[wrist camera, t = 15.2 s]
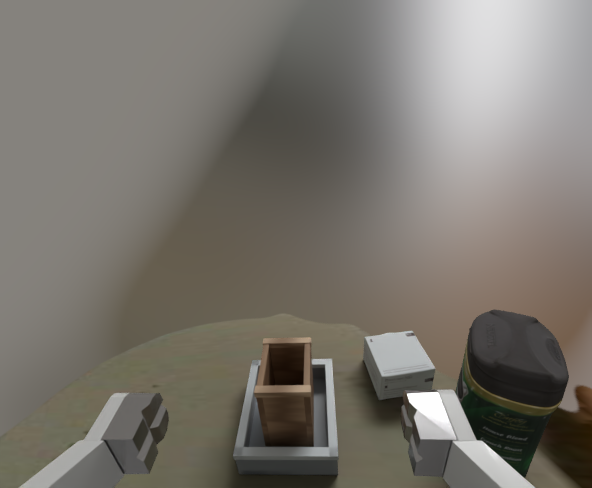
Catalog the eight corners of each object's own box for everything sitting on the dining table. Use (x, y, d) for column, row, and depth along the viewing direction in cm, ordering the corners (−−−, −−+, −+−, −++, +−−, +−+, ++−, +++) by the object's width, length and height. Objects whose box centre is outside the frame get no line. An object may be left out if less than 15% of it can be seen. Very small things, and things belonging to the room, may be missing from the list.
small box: (378, 402, 46) (380, 377, 44) (362, 359, 53) (363, 335, 51) (432, 394, 47) (436, 368, 44) (409, 352, 54) (412, 328, 51)
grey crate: (332, 377, 50) (331, 358, 48) (338, 476, 38) (338, 456, 36) (255, 378, 51) (252, 360, 49) (238, 475, 39) (232, 456, 37)
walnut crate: (314, 389, 48) (310, 337, 43) (314, 447, 40) (310, 392, 36) (271, 390, 48) (263, 338, 43) (264, 447, 41) (253, 392, 36)
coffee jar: (526, 511, 34) (589, 390, 25) (443, 480, 37) (473, 362, 28) (514, 427, 42) (559, 311, 33) (446, 407, 45) (470, 296, 36)
